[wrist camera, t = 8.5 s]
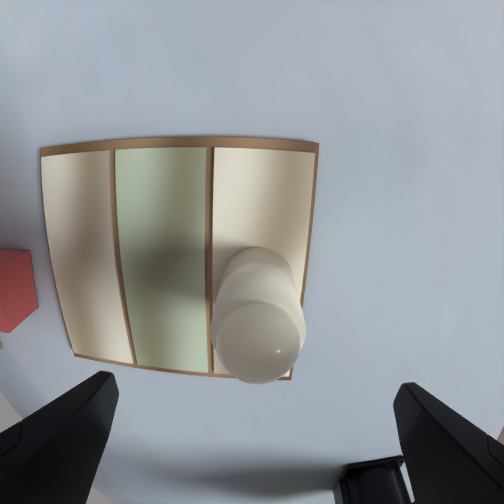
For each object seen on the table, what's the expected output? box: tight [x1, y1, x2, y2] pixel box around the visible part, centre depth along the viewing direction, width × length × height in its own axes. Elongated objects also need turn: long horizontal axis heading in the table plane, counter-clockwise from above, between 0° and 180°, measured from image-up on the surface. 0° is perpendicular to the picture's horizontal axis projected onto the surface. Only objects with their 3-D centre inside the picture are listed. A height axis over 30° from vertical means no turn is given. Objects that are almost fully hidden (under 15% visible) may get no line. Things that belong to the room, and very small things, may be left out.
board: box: [41, 137, 319, 380], centre depth 16 cm, size 15×14×1 cm
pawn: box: [210, 247, 306, 384], centre depth 13 cm, size 4×4×7 cm
